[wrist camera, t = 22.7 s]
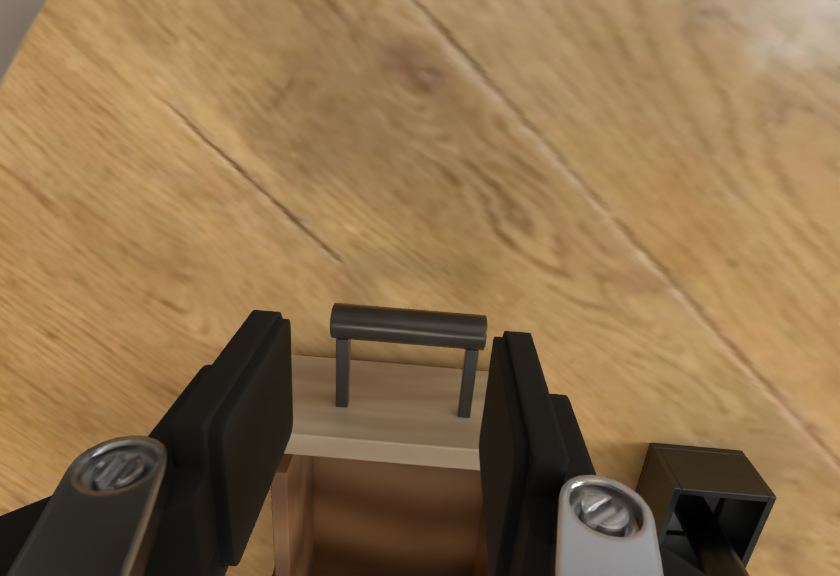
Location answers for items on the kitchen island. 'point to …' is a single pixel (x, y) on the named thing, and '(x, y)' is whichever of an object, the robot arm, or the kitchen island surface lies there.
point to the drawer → (384, 454)
